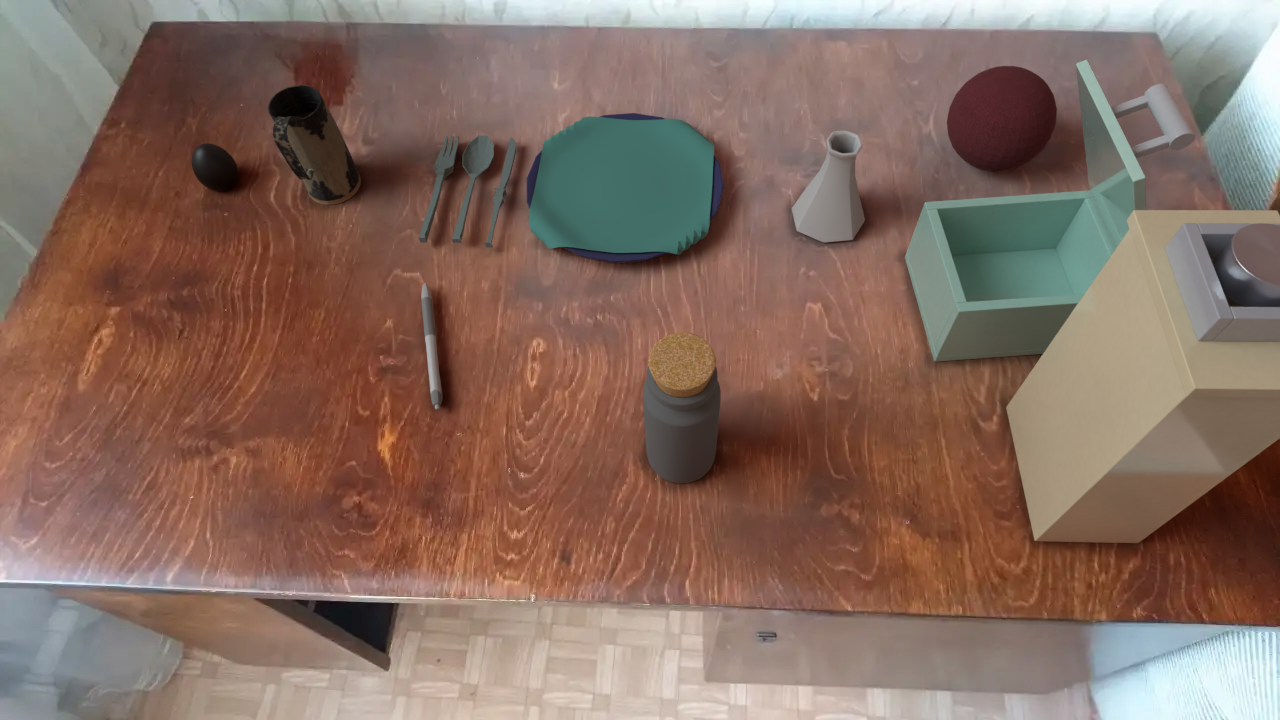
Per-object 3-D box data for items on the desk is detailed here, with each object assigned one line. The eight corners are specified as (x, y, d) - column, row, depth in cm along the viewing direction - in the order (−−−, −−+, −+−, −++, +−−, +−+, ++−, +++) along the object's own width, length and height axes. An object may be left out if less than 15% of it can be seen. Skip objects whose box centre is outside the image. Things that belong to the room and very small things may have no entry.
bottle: (647, 420, 75) (641, 324, 62) (715, 422, 74) (723, 325, 61) (645, 483, 72) (638, 395, 59) (715, 485, 71) (724, 397, 58)
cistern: (1103, 405, 74) (1301, 183, 51) (1143, 547, 67) (1391, 368, 44) (1001, 403, 74) (1150, 183, 51) (1031, 545, 68) (1217, 366, 44)
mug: (314, 164, 92) (269, 73, 82) (365, 164, 92) (326, 73, 81) (297, 221, 88) (247, 133, 78) (350, 221, 88) (307, 133, 77)
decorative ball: (946, 112, 93) (973, 34, 84) (1042, 134, 90) (1080, 56, 82) (926, 177, 88) (953, 101, 79) (1027, 203, 86) (1066, 127, 77)
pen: (434, 415, 76) (430, 407, 74) (422, 289, 83) (418, 280, 82) (445, 413, 76) (441, 405, 74) (432, 287, 83) (428, 278, 82)
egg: (201, 198, 90) (177, 163, 86) (207, 169, 92) (184, 134, 88) (240, 194, 90) (218, 159, 86) (246, 165, 92) (225, 130, 88)
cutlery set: (718, 278, 82) (719, 263, 80) (411, 263, 84) (405, 248, 82) (726, 129, 92) (727, 113, 91) (452, 119, 95) (447, 102, 93)
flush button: (1279, 248, 49) (1303, 222, 47) (1308, 311, 47) (1334, 287, 45) (1200, 247, 50) (1221, 222, 48) (1224, 311, 47) (1247, 287, 45)
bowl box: (933, 362, 77) (958, 311, 70) (904, 257, 83) (924, 201, 76) (1099, 350, 77) (1140, 298, 70) (1057, 246, 83) (1091, 189, 76)
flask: (785, 238, 85) (798, 165, 76) (796, 184, 88) (809, 108, 80) (860, 250, 83) (881, 178, 75) (868, 195, 87) (889, 120, 78)
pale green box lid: (1133, 181, 58) (1217, 153, 56) (1075, 63, 64) (1149, 34, 62) (1137, 296, 70) (1207, 276, 68) (1088, 187, 76) (1151, 166, 74)
